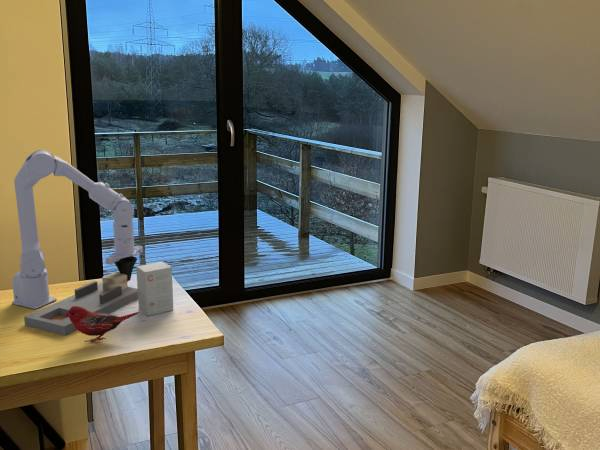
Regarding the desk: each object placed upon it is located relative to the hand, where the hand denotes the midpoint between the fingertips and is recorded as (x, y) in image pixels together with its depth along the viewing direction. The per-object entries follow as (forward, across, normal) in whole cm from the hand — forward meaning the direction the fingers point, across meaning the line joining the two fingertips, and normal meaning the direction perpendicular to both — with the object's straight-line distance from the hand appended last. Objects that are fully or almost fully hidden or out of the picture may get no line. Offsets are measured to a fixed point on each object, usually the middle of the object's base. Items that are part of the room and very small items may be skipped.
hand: (126, 280), depth 179 cm
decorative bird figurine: (+4, -30, -18) cm, 35 cm away
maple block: (+1, -5, 0) cm, 5 cm away
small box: (+4, -8, -17) cm, 19 cm away
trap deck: (+3, -17, 0) cm, 17 cm away
